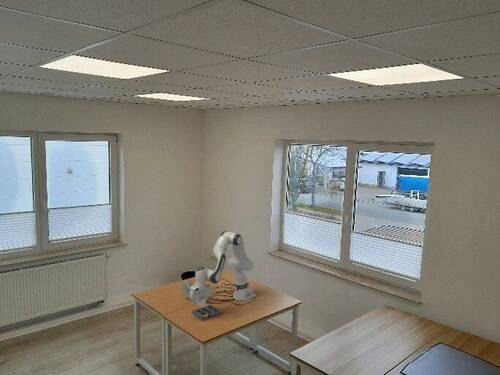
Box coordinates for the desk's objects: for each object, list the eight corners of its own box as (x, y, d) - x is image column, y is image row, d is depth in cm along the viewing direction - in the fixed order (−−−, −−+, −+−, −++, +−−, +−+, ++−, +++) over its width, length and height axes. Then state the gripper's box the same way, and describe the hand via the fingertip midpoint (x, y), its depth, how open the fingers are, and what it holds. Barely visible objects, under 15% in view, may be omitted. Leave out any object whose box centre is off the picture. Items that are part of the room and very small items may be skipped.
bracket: (209, 303, 361) (209, 282, 359) (206, 305, 355) (205, 285, 352) (184, 298, 372) (184, 278, 369) (180, 301, 365) (180, 280, 363)
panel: (198, 302, 338) (198, 294, 337) (205, 306, 328) (205, 298, 328) (196, 302, 336) (195, 295, 335) (203, 307, 327) (203, 299, 326)
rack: (210, 308, 350) (210, 304, 349) (221, 314, 337) (221, 310, 336) (192, 314, 338) (192, 309, 338) (202, 321, 325) (202, 316, 324)
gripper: (208, 282, 339) (209, 297, 341) (188, 287, 326) (188, 303, 328) (212, 284, 334) (212, 299, 336) (192, 290, 322) (192, 306, 323)
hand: (200, 301), depth 332 cm, fingers closed on panel, 2 cm apart
